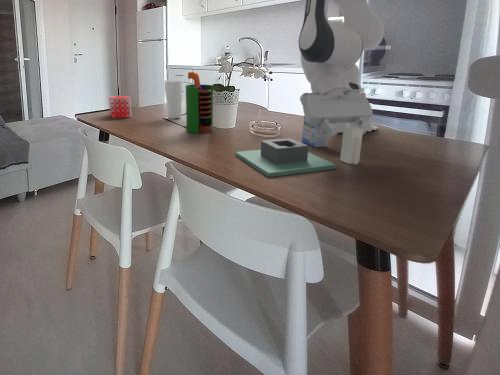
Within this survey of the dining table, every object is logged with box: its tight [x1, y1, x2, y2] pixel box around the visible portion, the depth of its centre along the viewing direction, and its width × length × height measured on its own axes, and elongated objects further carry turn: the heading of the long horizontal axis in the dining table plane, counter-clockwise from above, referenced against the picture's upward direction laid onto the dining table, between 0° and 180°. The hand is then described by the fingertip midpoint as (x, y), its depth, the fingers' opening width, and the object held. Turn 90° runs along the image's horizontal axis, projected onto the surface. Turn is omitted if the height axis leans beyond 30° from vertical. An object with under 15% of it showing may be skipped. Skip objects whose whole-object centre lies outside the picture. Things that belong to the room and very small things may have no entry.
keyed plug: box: [339, 127, 364, 165], centre depth 98 cm, size 4×4×9 cm
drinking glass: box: [164, 79, 183, 119], centre depth 153 cm, size 7×7×15 cm
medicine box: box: [301, 115, 329, 148], centre depth 116 cm, size 8×4×9 cm, turn 23°
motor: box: [185, 71, 214, 135], centre depth 129 cm, size 10×9×20 cm
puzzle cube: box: [108, 95, 132, 119], centre depth 157 cm, size 8×8×8 cm
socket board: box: [235, 137, 337, 178], centre depth 97 cm, size 19×20×5 cm
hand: (348, 134), depth 98 cm, fingers open, 8 cm apart
